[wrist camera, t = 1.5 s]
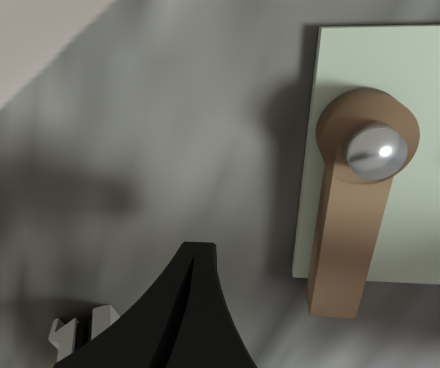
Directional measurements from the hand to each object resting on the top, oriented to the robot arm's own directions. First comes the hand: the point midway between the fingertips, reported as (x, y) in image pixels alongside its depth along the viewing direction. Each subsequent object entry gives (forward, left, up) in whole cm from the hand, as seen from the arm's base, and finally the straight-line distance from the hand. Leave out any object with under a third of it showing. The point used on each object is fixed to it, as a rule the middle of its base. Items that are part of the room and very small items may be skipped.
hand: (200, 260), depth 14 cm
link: (-7, 0, -4) cm, 8 cm away
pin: (-7, -4, -2) cm, 8 cm away
